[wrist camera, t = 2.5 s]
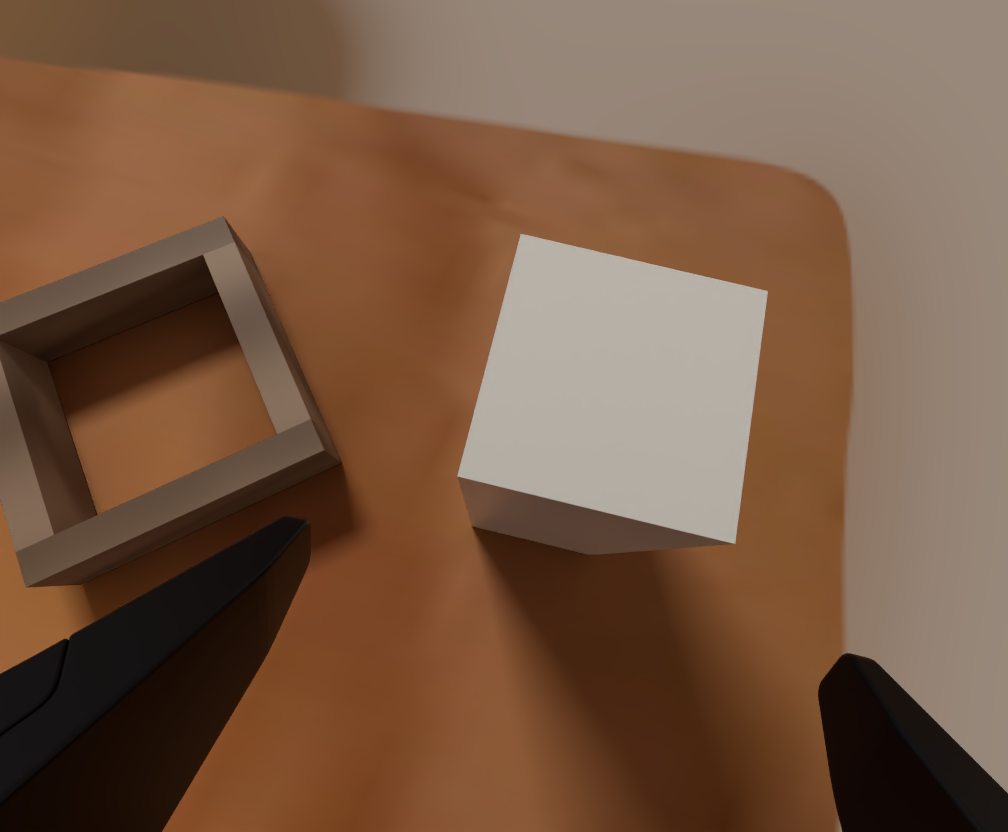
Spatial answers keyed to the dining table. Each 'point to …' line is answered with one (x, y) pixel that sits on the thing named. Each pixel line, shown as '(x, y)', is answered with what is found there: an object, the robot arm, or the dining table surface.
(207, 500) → the rectangular frame
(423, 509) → the dining table surface
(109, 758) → the robot arm
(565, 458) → the clay block
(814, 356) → the dining table surface
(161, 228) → the dining table surface
